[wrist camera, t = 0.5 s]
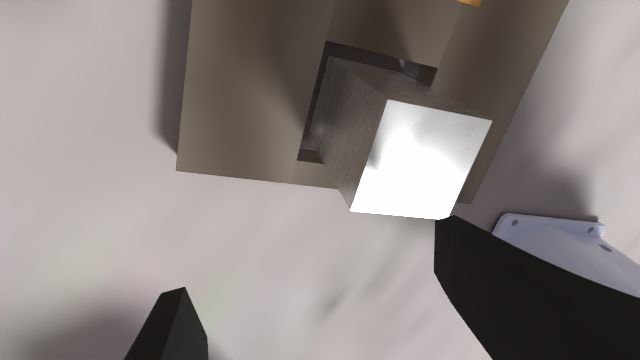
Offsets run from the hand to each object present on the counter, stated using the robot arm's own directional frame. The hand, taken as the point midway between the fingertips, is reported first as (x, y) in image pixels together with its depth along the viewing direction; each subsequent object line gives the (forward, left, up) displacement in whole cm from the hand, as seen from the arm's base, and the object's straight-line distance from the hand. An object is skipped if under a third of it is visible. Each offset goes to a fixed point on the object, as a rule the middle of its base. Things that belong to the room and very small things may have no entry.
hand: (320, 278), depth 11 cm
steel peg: (-4, -3, -10) cm, 11 cm away
